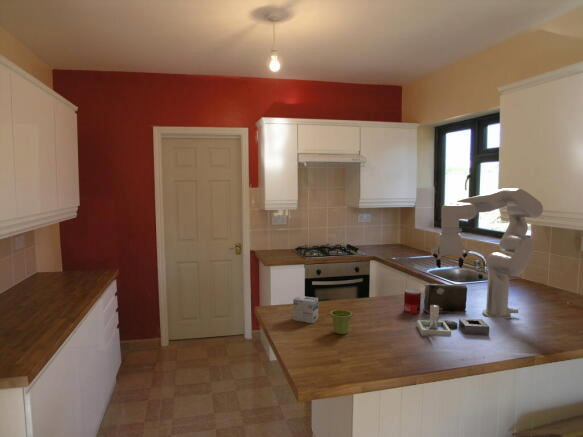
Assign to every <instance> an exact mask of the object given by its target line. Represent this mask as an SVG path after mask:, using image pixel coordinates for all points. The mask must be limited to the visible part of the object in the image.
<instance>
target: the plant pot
mask: <svg viewBox="0 0 583 437" xmlns="http://www.w3.org/2000/svg"><path fill="white" fill-rule="evenodd" d="M330 315H331V318H332V326H333V333H336V334H340V335H345V334H347V333H349V326H350V320H351V318H352V317H351V316H352V315H353V313H352V312H351V311H349V310H345V309H335V310H331V311H330Z"/></svg>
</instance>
